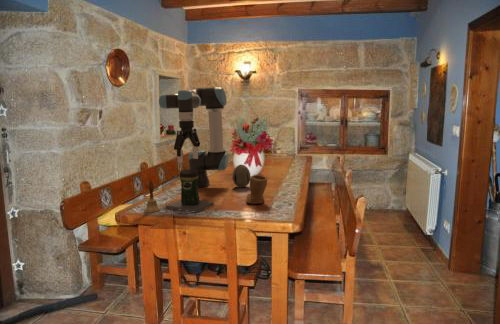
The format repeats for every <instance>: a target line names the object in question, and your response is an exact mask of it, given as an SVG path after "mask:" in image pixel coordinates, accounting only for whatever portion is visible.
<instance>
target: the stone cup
mask: <svg viewBox="0 0 500 324" xmlns="http://www.w3.org/2000/svg"><path fill="white" fill-rule="evenodd" d="M250 177H251V178H250V182H249V189H250V193H248V194H247V196H246V199H245V200H246V203H248V204H254V205H255V204H263V203H264V201H265V196H264V192H265V190H266V188H267V185H268V178H267V177H266V176H264V175H260V174H254V175H251V176H250Z"/></svg>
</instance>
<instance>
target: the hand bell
mask: <svg viewBox="0 0 500 324" xmlns="http://www.w3.org/2000/svg"><path fill="white" fill-rule="evenodd" d="M154 188H155V186H154V183H153V180H151V179H150V180H149V183H148V191H149V199H148V200H147V203H146V207H145V208H144V210H143V212H144V213H157V212H160V211H161V208H160V207H159V205H158V203H157V202H158V201H157V199H155V198H154Z"/></svg>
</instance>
